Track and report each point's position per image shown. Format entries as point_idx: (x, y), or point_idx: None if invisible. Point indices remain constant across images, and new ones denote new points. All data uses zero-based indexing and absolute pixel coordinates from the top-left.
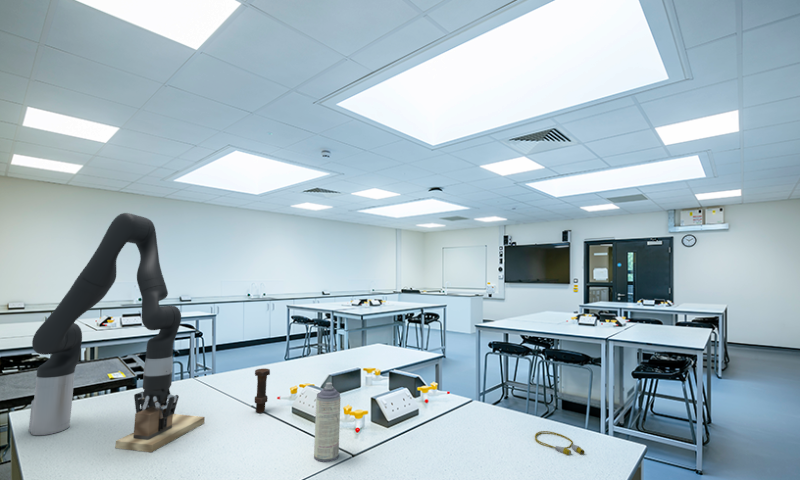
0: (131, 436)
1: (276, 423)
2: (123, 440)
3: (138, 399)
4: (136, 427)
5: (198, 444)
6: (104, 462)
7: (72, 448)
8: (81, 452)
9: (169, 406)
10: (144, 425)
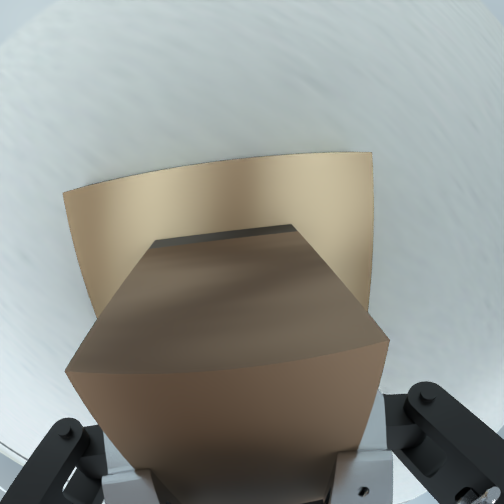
0: (333, 244)
1: (29, 455)
2: (327, 170)
3: (490, 489)
4: (289, 256)
5: (12, 329)
6: (229, 4)
7: (494, 117)
8: (445, 81)
9: (21, 490)
10: (179, 280)
